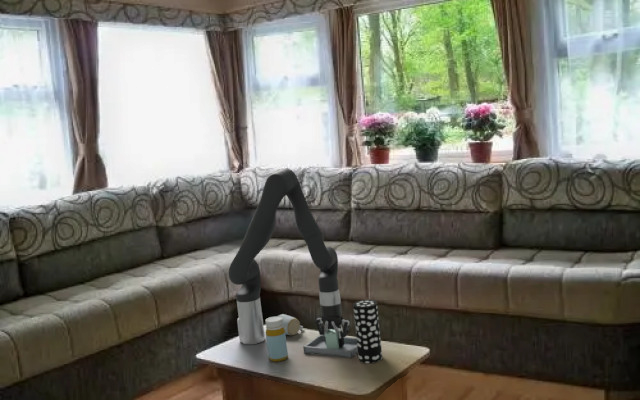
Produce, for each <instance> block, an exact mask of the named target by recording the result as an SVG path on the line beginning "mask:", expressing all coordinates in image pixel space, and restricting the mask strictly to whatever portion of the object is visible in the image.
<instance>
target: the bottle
mask: <svg viewBox="0 0 640 400" xmlns="http://www.w3.org/2000/svg"><path fill="white" fill-rule="evenodd" d="M265 328H266V330H265V339H266V340H265V341H266V348H267V354H268V359H269V360H270V361H271V362H273V363H279V362H283V361H285V360H287V358H288V356H289V355H288V354H289V353H288V346H287V338H286V337H287V335H286V334H285V329H284V327H283V320H282V317H279V315H277V316H270V317H268V318H266V319H265Z"/></svg>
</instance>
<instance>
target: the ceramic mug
mask: <svg viewBox="0 0 640 400" xmlns="http://www.w3.org/2000/svg"><path fill="white" fill-rule="evenodd" d="M278 316H279V317H282V320H283V327H284V329H285V335H286V336H296V335H297V334H298V333H299V331H302V330H303V329H304V326H303V325H301V322H300V320H299V319H297V318H296V317H294V316H291V315H287V314H286V313H285V314H284V313H282V314H279V315H278Z"/></svg>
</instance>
